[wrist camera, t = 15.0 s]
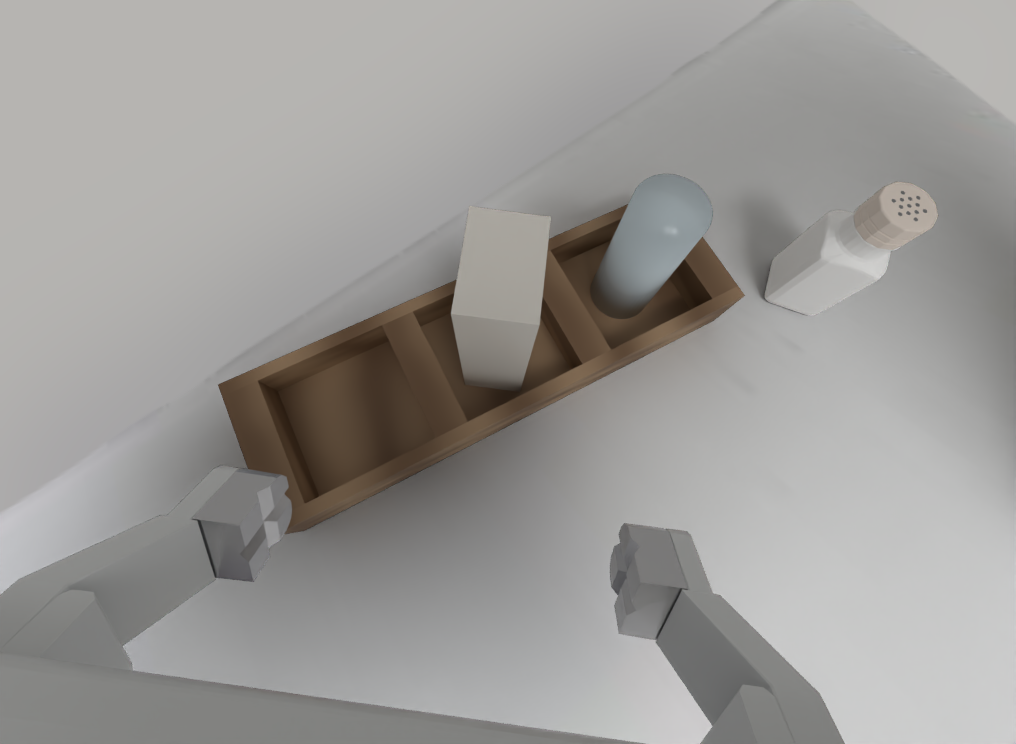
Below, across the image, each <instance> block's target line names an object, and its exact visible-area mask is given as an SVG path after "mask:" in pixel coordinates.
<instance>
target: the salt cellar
mask: <svg viewBox="0 0 1016 744" xmlns="http://www.w3.org/2000/svg"><path fill="white" fill-rule="evenodd" d="M712 217H713V210H712V205H711V202H710V200H709V198H708V196H707V195H706V193H705V192H704V191H703V190H702V188H700V187H699V186H698V185H697V184H696V183H694V182H693V181H691V180H689V179H687V178H685V177H682V176H679V175H674V174H659V175H655V176H652V177H649V178H647V179H646V180H644V181H643V182H642V183H641V184H639V186H638V187H637V188H636V190H635V192H634V194H633V196H632V198H631V200H630V202H629V204H628V206H627V209H626V211H625V213H624V215H623V217H622V219H621V221H620V223H619V225H618V228H617V230H616V232H615V234H614V236H613V238H612V240H611V242H610V245H609V247H608V249H607V251H606V253H605V255H604V257H603V259H602V261H601V264H600V266H599V268H598V270H597V272H596V274H595V276H594V278H593V281H592V283H591V288H590V292H591V298H592V300H593V302H594V304H595V306H596V307H597V308H598V309H599V310H600V311H601V312H602V313H604V314H605V315H607V316H609V317H612V318H615V319H629V318H632V317H634V316H636V315H638V314H639V313H640V312H641V311H642V310H643V309H644V308H645V307H646V306H647V304H648V303H649V302H650V301H651V299H652V298H653V297H654V296H655V294H656V293H657V292H658V291H659V289H660V288H661V287H662V286H663V284H664V283H665V282H666V281H667V280H668V278H669V277H670V276H671V275H672V273H673V272H674V271H675V270H676V268H677V267H678V266H679V265H680V263H681V262H682V261H683V260H684V259H685V257H686V256H687V255H688V254H689V252H690V251H691V250H692V249H693V247H694V246H695V245H696V244H697V242H698V241H699V240H700V239H701V238H702V236H703V235H704V234H705V233H706V231H707V230H708V228H709V227H710V225H711V222H712Z"/></svg>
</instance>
